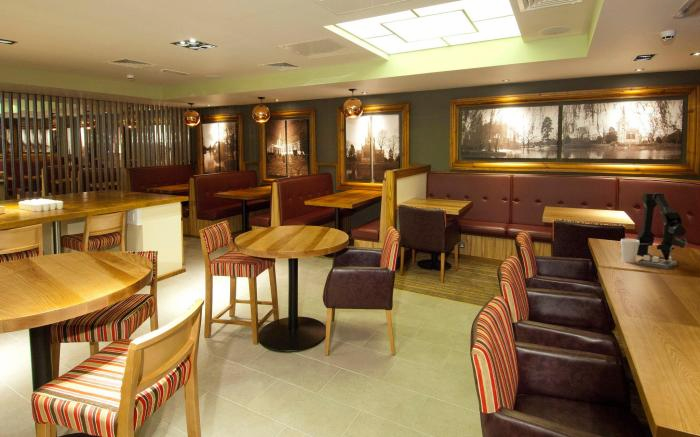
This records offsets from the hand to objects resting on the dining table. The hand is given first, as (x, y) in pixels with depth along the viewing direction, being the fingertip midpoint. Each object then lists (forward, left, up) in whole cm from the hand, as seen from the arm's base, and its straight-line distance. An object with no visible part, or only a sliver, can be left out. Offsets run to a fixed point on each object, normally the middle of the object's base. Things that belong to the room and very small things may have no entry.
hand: (666, 259), depth 248 cm
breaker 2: (-2, 0, -1) cm, 3 cm away
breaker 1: (+3, -9, -1) cm, 10 cm away
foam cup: (+4, -18, -4) cm, 19 cm away
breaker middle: (+3, -4, -1) cm, 6 cm away
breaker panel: (0, -4, -3) cm, 6 cm away
